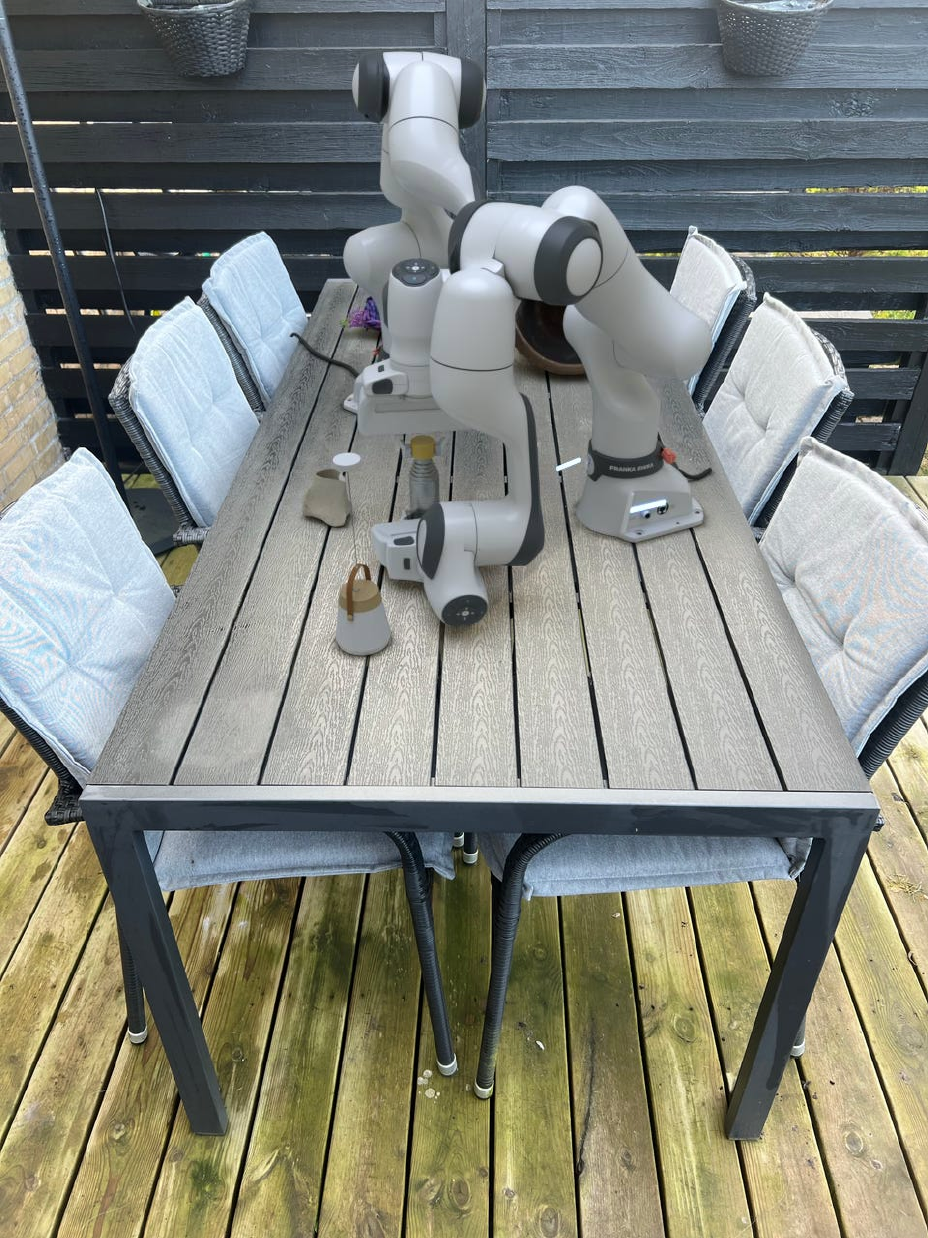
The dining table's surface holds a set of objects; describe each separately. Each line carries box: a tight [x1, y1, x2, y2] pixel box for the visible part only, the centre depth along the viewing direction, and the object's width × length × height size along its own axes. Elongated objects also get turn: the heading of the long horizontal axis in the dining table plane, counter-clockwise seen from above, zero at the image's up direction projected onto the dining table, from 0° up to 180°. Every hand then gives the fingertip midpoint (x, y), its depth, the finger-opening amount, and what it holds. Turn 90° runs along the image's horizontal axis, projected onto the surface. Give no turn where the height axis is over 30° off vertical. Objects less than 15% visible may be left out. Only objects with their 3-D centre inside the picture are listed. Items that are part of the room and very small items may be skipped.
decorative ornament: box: [338, 295, 382, 334], centre depth 237 cm, size 13×11×30 cm
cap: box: [409, 434, 436, 460], centre depth 150 cm, size 4×4×2 cm
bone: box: [301, 468, 353, 528], centre depth 164 cm, size 9×8×10 cm
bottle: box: [408, 457, 441, 520], centre depth 155 cm, size 5×5×19 cm
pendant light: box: [332, 452, 392, 656], centre depth 130 cm, size 8×8×30 cm
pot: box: [515, 296, 586, 376], centre depth 220 cm, size 32×32×30 cm
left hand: (422, 455), depth 150 cm, fingers closed on cap, 4 cm apart
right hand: (423, 511), depth 158 cm, fingers closed on bottle, 5 cm apart
